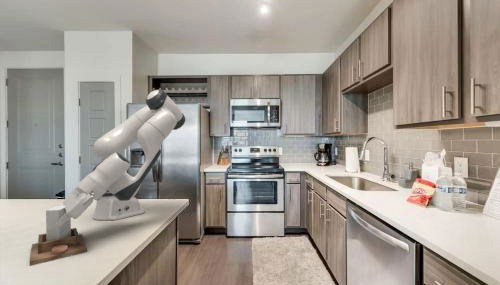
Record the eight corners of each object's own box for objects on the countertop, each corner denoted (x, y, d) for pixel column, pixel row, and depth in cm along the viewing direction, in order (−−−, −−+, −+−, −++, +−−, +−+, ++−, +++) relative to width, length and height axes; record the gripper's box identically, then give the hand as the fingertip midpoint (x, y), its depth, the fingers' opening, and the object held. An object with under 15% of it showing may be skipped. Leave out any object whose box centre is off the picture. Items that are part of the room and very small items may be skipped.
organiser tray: (81, 237, 92) (81, 226, 92) (87, 251, 80) (87, 238, 80) (31, 247, 83) (31, 235, 83) (29, 265, 71) (29, 251, 71)
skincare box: (58, 239, 86) (58, 205, 86) (71, 238, 86) (71, 205, 86) (45, 246, 80) (45, 210, 80) (59, 246, 80) (59, 209, 80)
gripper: (102, 199, 82) (66, 235, 76) (93, 190, 98) (63, 219, 92) (87, 188, 80) (48, 224, 73) (80, 180, 95) (47, 210, 89)
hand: (56, 221), depth 83 cm, fingers closed on skincare box, 7 cm apart
